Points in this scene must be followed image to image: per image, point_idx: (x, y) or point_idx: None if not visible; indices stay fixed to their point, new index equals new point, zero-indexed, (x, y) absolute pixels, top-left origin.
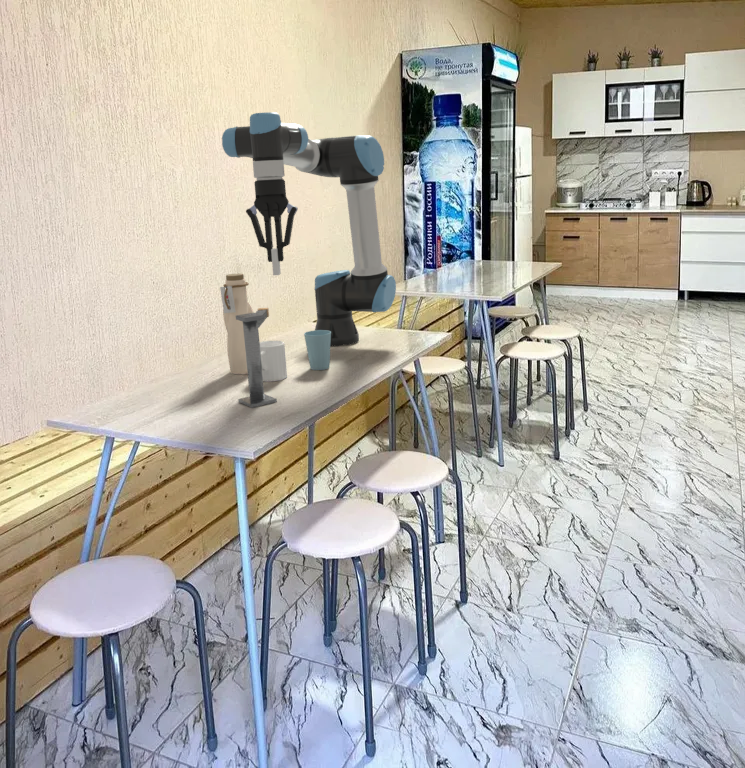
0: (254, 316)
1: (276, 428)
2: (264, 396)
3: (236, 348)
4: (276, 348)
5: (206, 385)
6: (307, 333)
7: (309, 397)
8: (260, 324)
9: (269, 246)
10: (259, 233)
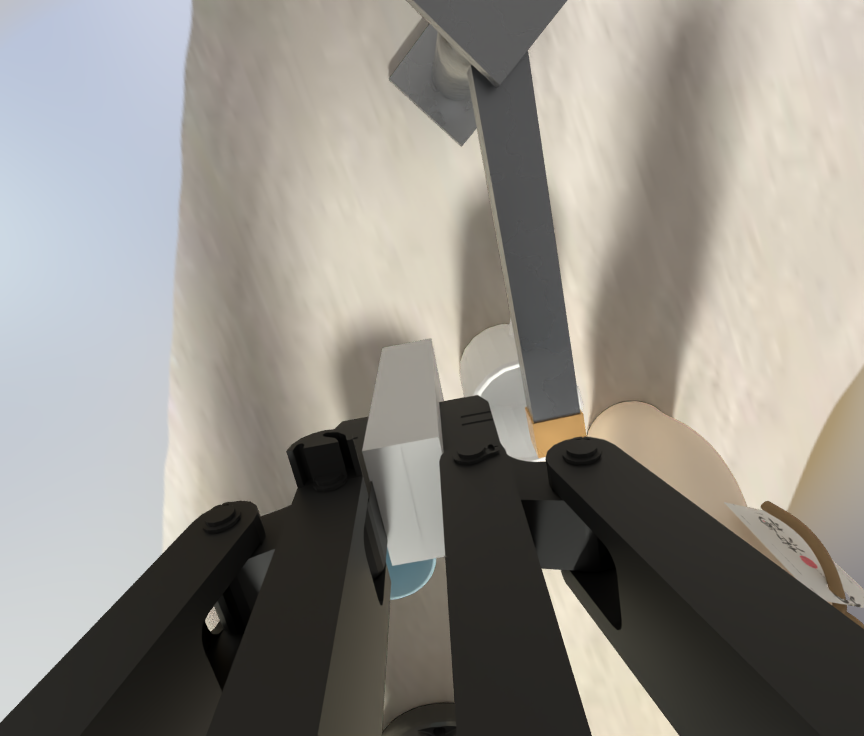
0: None
1: None
2: (442, 106)
3: (665, 429)
4: (484, 374)
5: (703, 267)
6: (430, 566)
7: (297, 146)
8: (487, 185)
9: (459, 452)
10: (667, 559)
